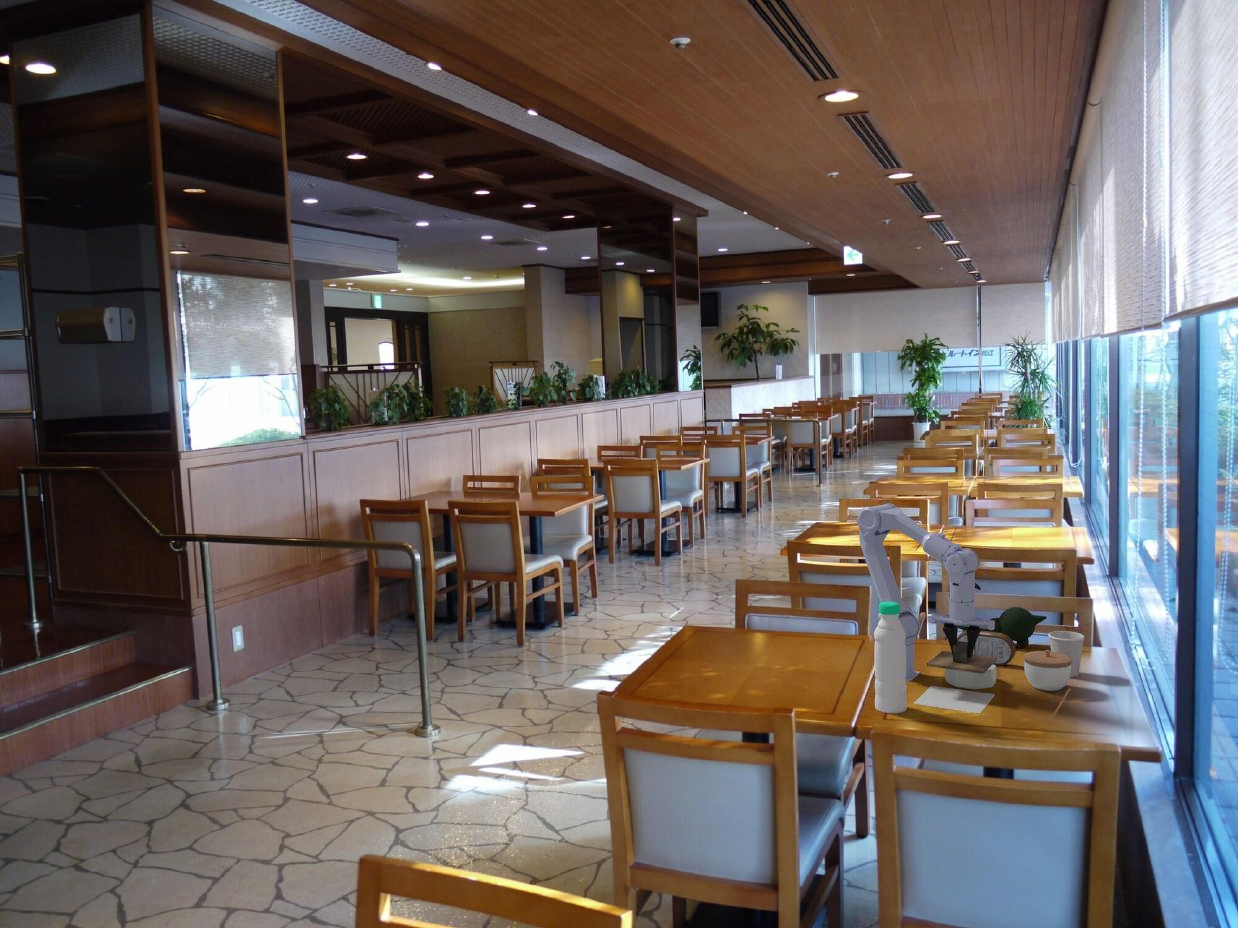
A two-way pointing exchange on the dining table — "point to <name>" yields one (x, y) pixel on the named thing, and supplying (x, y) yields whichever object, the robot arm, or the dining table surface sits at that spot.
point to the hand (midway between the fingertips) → (962, 655)
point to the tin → (992, 646)
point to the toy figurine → (1014, 624)
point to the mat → (955, 699)
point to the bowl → (971, 678)
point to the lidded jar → (1047, 669)
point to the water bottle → (890, 660)
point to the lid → (962, 660)
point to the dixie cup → (1068, 647)
